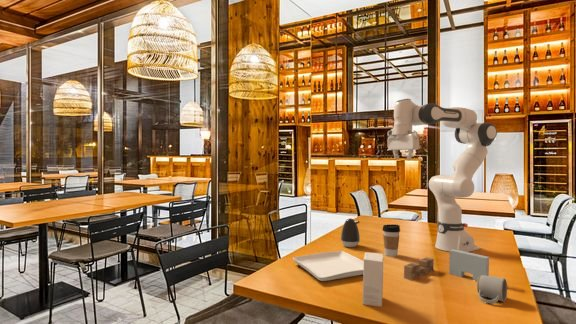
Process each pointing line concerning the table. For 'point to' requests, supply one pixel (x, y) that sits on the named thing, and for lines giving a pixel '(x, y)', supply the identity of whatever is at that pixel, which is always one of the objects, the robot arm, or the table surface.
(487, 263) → the grey flat block
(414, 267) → the walnut rail
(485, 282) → the ceramic mug
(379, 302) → the skincare box
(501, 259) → the table surface
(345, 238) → the pump dispenser
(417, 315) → the table surface
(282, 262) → the table surface
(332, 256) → the square plate
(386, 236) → the coffee cup
